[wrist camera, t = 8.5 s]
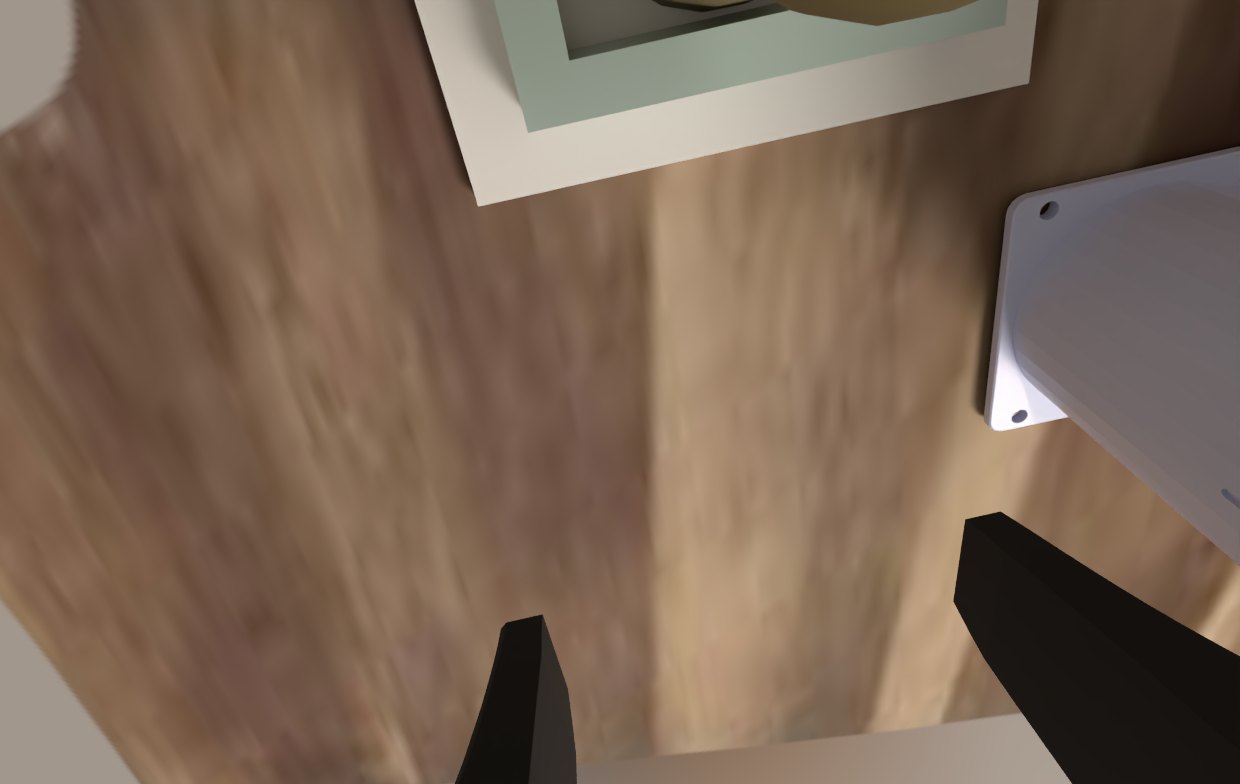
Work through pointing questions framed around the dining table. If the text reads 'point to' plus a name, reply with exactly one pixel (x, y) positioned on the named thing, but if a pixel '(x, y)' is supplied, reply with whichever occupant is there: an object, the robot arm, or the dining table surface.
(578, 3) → the socket block
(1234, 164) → the robot arm
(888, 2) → the cork
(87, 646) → the dining table surface
